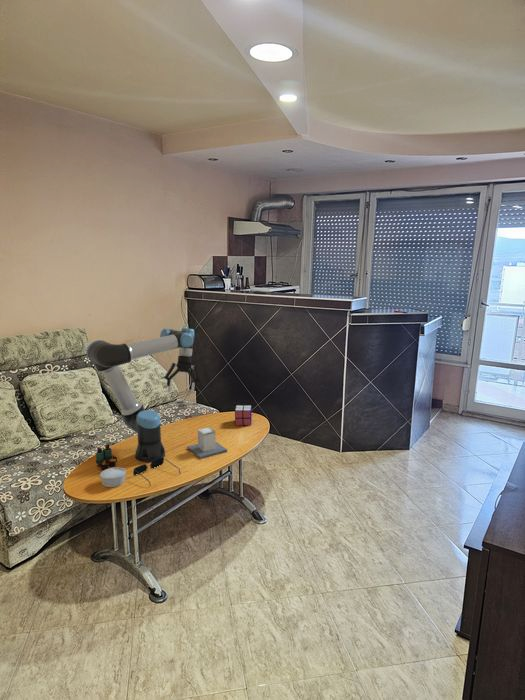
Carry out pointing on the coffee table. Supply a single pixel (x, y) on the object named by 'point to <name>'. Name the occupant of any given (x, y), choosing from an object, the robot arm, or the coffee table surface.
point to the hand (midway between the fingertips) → (180, 393)
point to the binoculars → (105, 458)
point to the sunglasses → (152, 465)
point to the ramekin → (113, 476)
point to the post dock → (201, 454)
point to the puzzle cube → (243, 415)
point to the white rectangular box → (206, 439)
